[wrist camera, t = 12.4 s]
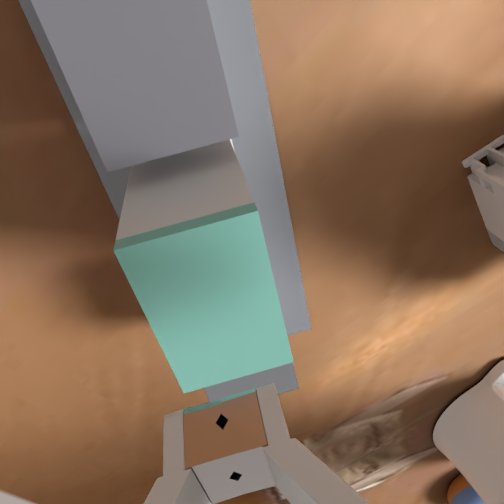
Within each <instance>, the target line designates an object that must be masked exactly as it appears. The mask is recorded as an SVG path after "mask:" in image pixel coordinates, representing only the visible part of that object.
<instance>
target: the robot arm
mask: <svg viewBox="0 0 504 504" xmlns="http://www.w3.org/2000/svg"><path fill="white" fill-rule="evenodd" d="M433 441H434V444H435V446H436V447H437V449H438V450H440V451H441V452H442V453H443V454H444V455H445V456H446V457H447V458H448V459H449V460H450V461H451V462H452V463H453V465H454V466H455V467H456V468H457V469H458V470H459V471H460V472H461V474H462V475H463V476H464V477H465V478H466V480H467V481H468V482H469V483H470V485H471V486H472V487H473V488H474V490H475V491H476V492H477V494H478V495H479V496H480V498H481V499H482V500H483V502H484V503H485V504H504V360H502V361H500V362H499V363H498V364H497V365H495V366H494V367H493V368H492V369H491V371H490V372H489V373H488V374H487V375H486V376H485V377H484V379H483V380H482V381H480V382H479V383H478V384H477V385H475V386H474V387H473V388H471V389H470V390H468V391H467V392H465V393H464V394H463V395H461V396H460V397H459V398H458V399H456V400H455V401H454V402H453V403H452V404H451V405H450V406H449V407H448V408H447V409H446V410H445V411H444V413H443V414H442V415H441V417H440V418H439V420H438V421H437V423H436V425H435V428H434V432H433ZM273 486H276V487H277V488H278V490H279V491H280V492H281V493H282V494H283V495H284V496H285V497H286V499H287V500H288V501H289V502H290V503H291V504H369V503H368V501H367V500H366V499H364V498H363V497H362V496H361V495H360V494H359V493H358V492H356V491H355V490H354V489H353V488H352V487H351V486H350V485H348V484H347V483H346V482H345V481H344V480H343V479H342V478H341V477H339V476H338V475H337V474H336V473H335V472H334V471H333V470H331V469H330V468H329V467H328V466H327V465H326V464H325V463H324V462H322V461H321V460H320V459H319V458H318V457H317V456H316V455H314V454H313V453H312V452H311V451H310V450H309V449H308V448H307V447H305V446H304V445H303V444H302V443H301V442H300V441H299V440H297V439H296V438H293V439H290V435H289V432H288V428H287V424H286V421H285V417H284V414H283V410H282V407H281V403H280V400H279V396H278V393H277V389H276V386H275V384H274V383H272V384H269V385H266V386H262V387H259V388H254V389H250V390H247V391H244V392H241V393H237V394H234V395H231V396H227V397H224V398H221V399H220V400H216V401H213V402H209V403H205V404H201V405H197V406H194V407H190V408H186V409H182V410H179V411H175V412H172V413H168V414H165V417H164V421H163V476H162V477H159V478H157V480H156V482H155V483H154V485H153V487H152V489H151V491H150V492H149V494H148V496H147V498H146V500H145V502H144V503H143V504H215V503H218V502H221V501H224V500H227V499H231V498H234V497H237V496H240V495H243V494H246V493H250V492H254V491H258V490H261V489H265V488H269V487H273Z"/></svg>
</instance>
